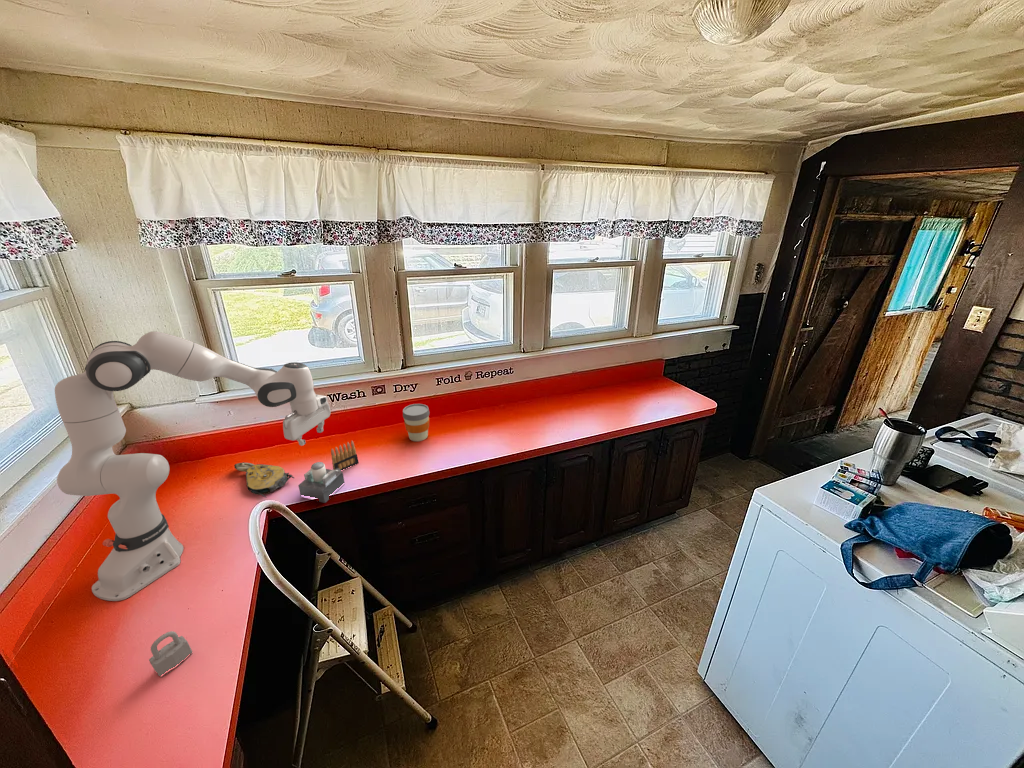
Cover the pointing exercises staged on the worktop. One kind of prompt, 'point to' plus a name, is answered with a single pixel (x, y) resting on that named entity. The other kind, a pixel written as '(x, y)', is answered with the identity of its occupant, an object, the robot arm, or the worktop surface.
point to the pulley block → (263, 477)
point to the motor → (321, 484)
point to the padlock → (169, 652)
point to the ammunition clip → (344, 457)
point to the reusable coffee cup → (416, 421)
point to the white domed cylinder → (318, 471)
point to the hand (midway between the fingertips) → (311, 438)
